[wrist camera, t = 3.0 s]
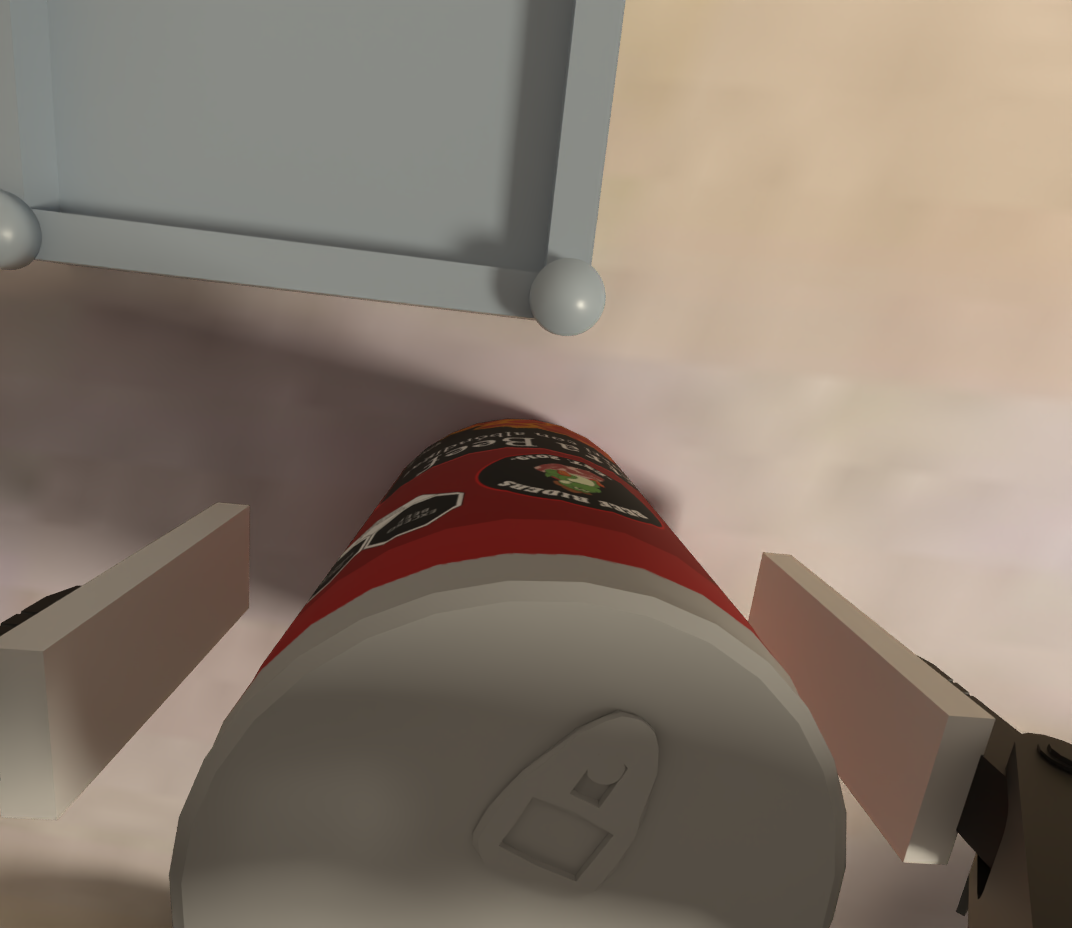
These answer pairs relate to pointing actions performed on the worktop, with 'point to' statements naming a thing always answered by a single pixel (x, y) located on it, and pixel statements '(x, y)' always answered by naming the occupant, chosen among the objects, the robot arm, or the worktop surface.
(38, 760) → the robot arm
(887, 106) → the worktop surface
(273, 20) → the baseplate
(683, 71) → the worktop surface
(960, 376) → the worktop surface
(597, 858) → the canned food
